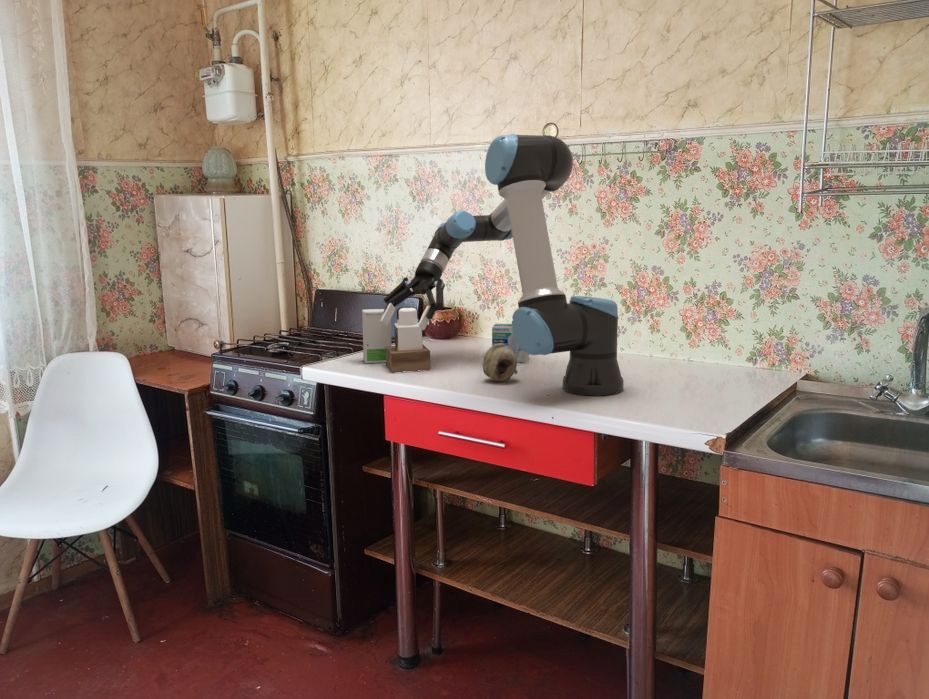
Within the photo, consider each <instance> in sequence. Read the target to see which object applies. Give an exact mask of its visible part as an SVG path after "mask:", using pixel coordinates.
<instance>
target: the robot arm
mask: <svg viewBox="0 0 929 699" xmlns="http://www.w3.org/2000/svg"><path fill="white" fill-rule="evenodd" d="M484 162H485V163H484V170H485V171H484V172H485V177H486V179H487V181H488V182H489V183H490V184H492V185H494V186H497V190H498V195H499V196H500V197H501V198H502V201H501V202H500V203H499V204H498V205H497V207H496V208H495V209H494V210H492V212H491V213H490V214H487V215H473V214H472V213H470V212H468V211H466V210H458V211H455V212H454V213H453V214H451V215H450V216H449V217H448V219H447V220H446V222H442V223H440V224H439V226H438V228H437V229H436V230H435V231H434V235H433V237H432V239H431V241H430V243H429V244H428V246H427V248H426V250H425V251H424V254H423V255H422V258H421V259H420V262H419V263H418V265H417V267H416V269H415V270H414V277H413V278H411V279H409V278H408V277H407V276H405V277H404V278H403V279H402V280H401V282H400V283H399V284H398V285H397V286H395V288H394V289H393V290H391V292H390V293H388V294H387V295H386V296H385V297H384V298H383V301H384V303H385V304H386V306H385V308H384V309H385V310H384V312H383V313H384V314H383V316H382V318H381V320H380V321H381V323H382V324H383V325H384V326H386V327H387V325H388V323H389V321H390V319H391V320H392V317H393V315H394V313H395V311H396V310H397V309H396V306H398V305H400V304H401V303H403V302H404V301H405V300H407V299H409V298H410V297H414V296H415V295H422V296H425V295H426V297H427V301H428V303H429V305H426V307H425V310H424V311H423V313H422V315H421V318H420V319H419V320H418V325H419V326H420V328H421V329H422V331H425V330H426V327H427V326H428V324H429V322H430V320H432V319H433V318H434V315H435V313H436V312H437V311H438V310H440V311H442V310H444V308H445V306H444V305H445V303H444V289H445V286H446V284H445V283H444V281H443V279H442V276H443V273H444V271H445V270H446V268H447V266H448V264H449V261H450V259H451V258H452V256H453V254H454V253H455V251H456V250H457V248H458V247H460V245H462V244H463V243H467V242H468V243H471V242H489V241H491V242H493V241H495V242H496V241H498V242H499V241H501V242H502V241H507V240H508V241H509V240H511V239H512V241H513V245H514V246H513V247H514V252H515V258H516V263H517V270H518V275H519V281H520V287H521V292H522V293H521V294H522V295H521V297H520V299H519V300H518V302H517V306H518V308H517V309H516V310H515V311H513V314H512V320H511V324H512V331H513V335H514V337H515V340H516V342H517V344H518V345H519V347H520V348H521V349H522V350H523V351H524V352H526V353H528V354H529V356H530V355H531V356H541V355H542V356H547V355H551V354H558V353H559V354H560V353H564V352H569V360H568V363H567V366H566V370H565V373H564V374H565V375H563V377H562V389H563V390H564V391H565V392H568V393H570V394H571V393H572V394H575V395H581V396H608V395H610V396H611V395H615V394H619V393H621V392H622V391H624V381H625V380H624V378H623V376H622V374H621V373H622V372H621V370H620V365H619V361H618V328H619V327H618V324H619V315H618V314H619V312H618V309H619V308H618V303H617V302H616V301H615V300H612V299H608V298H601V297H592V296H585V295H584V296H583V295H582V296H581V295H572V296H570V299H569V303H568V301H567V296H566V293H565V292H563V291H562V290H561V289H559V288H558V280H557V277H556V271H555V266H554V259H553V252H552V248H551V243H550V242H551V241H550V236H549V232H548V226H547V218H546V214H545V207H544V202H543V199H544V198H545V197H546V196H548V194H550V193H552V192H556V191H558V190H559V189H560V188H561V187H562V186H563V185H565V183H566V182H567V181H568V180H569V178H570V176H571V175H572V172H573V171H572V170H573V166H574V159H573V154H572V151H571V149H570V147H569V146H568V145H567V143H565V141H563V140H562V139H560V138H558V137H557V136H555V135H550V134H549V135H547V134H546V135H535V134H534V135H532V134H531V135H529V134H515V133H512V134H511V133H510V134H501V135H498V136H496V137H495V138H494V139H493V140H492V141H491V143H490V145H489V146H488V149H487V152H486V156H485V161H484ZM433 289H435V297H434V294H433V291H432V290H433ZM435 299H436V301H435Z"/></svg>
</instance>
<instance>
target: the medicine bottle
mask: <svg viewBox="0 0 929 699" xmlns="http://www.w3.org/2000/svg"><path fill="white" fill-rule="evenodd" d="M396 320H397V321H396V322H395V323H394V324H393V327H394V329H393V331H394V346H395V347H396V349H397V350H398V351H414V350H422V349H423V347H422V344H423V330H422V329H421V328H420V326H419V325H418V323H419V310H418V308H417V307H415V306H402V307H399V308H397V309H396Z"/></svg>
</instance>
